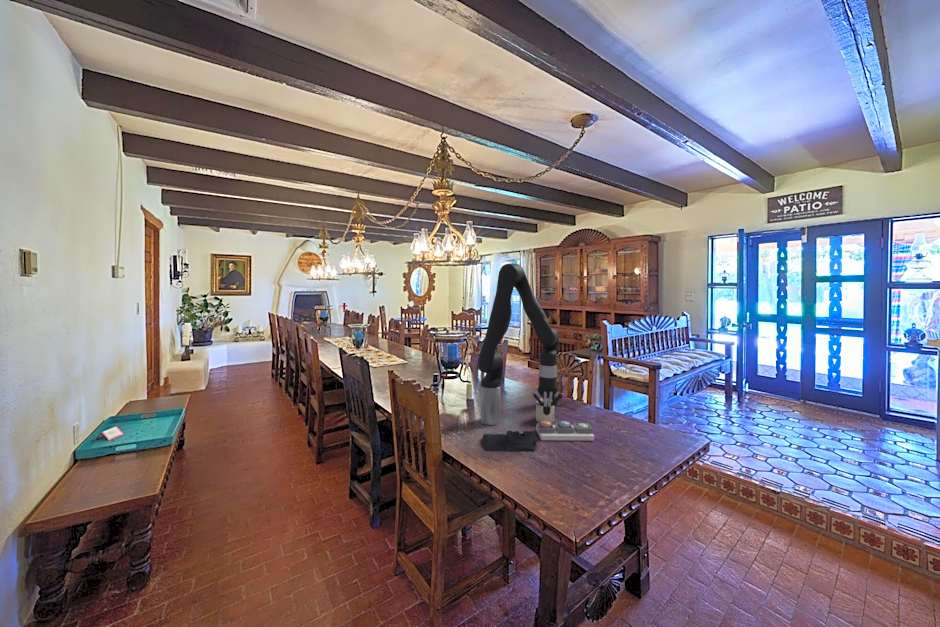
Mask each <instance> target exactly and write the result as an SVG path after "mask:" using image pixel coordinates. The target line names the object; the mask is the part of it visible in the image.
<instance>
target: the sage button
mask: <svg viewBox="0 0 940 627" xmlns="http://www.w3.org/2000/svg"><path fill="white" fill-rule="evenodd" d="M579 423H580V424H578V428H588V425H587V424H582V423H583V422H579Z"/></svg>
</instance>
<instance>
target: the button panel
mask: <svg viewBox="0 0 940 627" xmlns="http://www.w3.org/2000/svg"><path fill="white" fill-rule="evenodd" d="M580 423H582V424H587V425H588V428H578V424H580ZM540 425H541V422H537V423H536V426H535V429H536V432H537V434H538V436H539V439H540V441H578V442H579V441H585V442H586V441H592V442H594V441H595V435H594V434H593V431H594V429H593V427H592V426H591V425H590V423H589V422H573V424H571V423H570V428H559V422H554V424H553V422H552V423H551V428H541V427H540Z"/></svg>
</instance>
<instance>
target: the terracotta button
mask: <svg viewBox="0 0 940 627" xmlns="http://www.w3.org/2000/svg"><path fill="white" fill-rule="evenodd" d="M540 423H541V425H540V427H541V428H551V422H549V421H541V422H540Z"/></svg>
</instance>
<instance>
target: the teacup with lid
mask: <svg viewBox="0 0 940 627" xmlns="http://www.w3.org/2000/svg"><path fill="white" fill-rule="evenodd" d="M539 399H540V400H541V401H542V402H543V399H542V397H541V398H539ZM535 420H536V422H537V423H541V421H549V422H551V423H552V424H553V423H554V422H555V407H554V406H553V405H552V406H551V407H550V414H549V415H545V414H544V413H543V406H542V405H540V404H539V403H538V401H537V400H536V399H535Z"/></svg>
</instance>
